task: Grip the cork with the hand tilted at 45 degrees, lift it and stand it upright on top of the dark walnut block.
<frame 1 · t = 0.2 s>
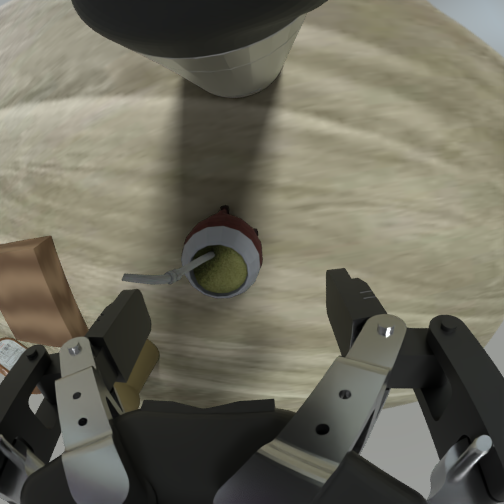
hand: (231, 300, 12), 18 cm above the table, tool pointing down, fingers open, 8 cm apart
tin: (30, 350, 41), on the table
walnut base block: (35, 288, 34), on the table
cork: (140, 349, 38), on the table
mate gourd: (223, 231, 30), on the table
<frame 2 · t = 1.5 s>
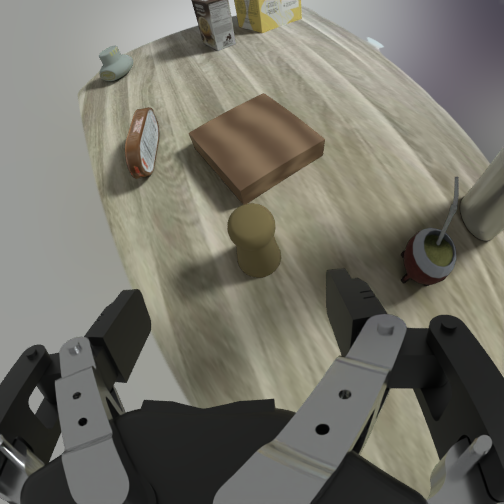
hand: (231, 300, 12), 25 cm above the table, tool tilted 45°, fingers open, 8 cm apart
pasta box: (270, 22, 68), on the table
tin: (152, 155, 50), on the table
air freshener: (120, 75, 66), on the table
brown snack box: (219, 44, 65), on the table
walnut base block: (256, 149, 47), on the table
cork: (259, 257, 40), on the table
mate gourd: (413, 266, 37), on the table
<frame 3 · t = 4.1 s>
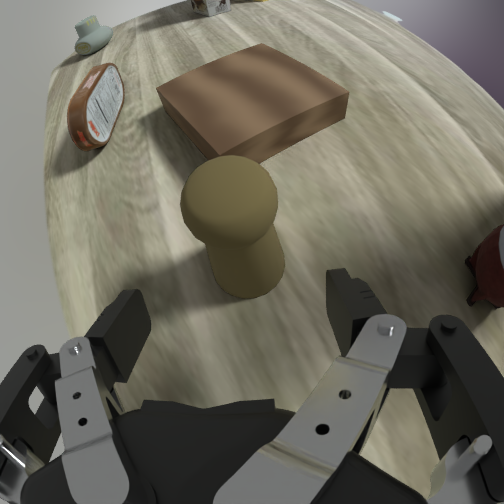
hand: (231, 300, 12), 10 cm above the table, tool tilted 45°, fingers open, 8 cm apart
tin: (112, 124, 34), on the table
air freshener: (97, 48, 51), on the table
brown snack box: (212, 11, 50), on the table
walnut base block: (249, 109, 31), on the table
cork: (248, 263, 24), on the table
mate gourd: (480, 279, 21), on the table
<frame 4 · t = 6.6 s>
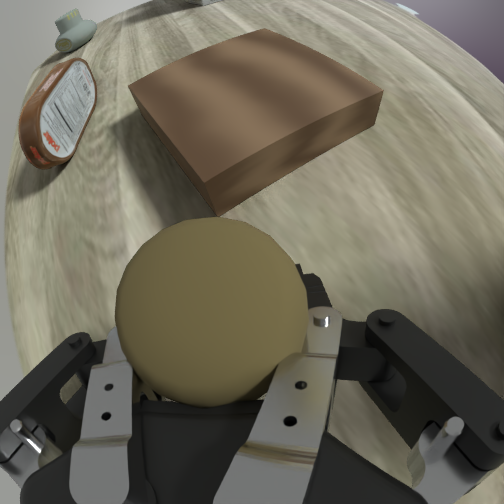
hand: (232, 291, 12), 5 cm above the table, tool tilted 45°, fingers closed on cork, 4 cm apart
tin: (80, 132, 26), on the table
air freshener: (80, 45, 43), on the table
brown snack box: (206, 1, 42), on the table
walnut base block: (248, 110, 24), on the table
cork: (248, 342, 16), on the table, touching gripper
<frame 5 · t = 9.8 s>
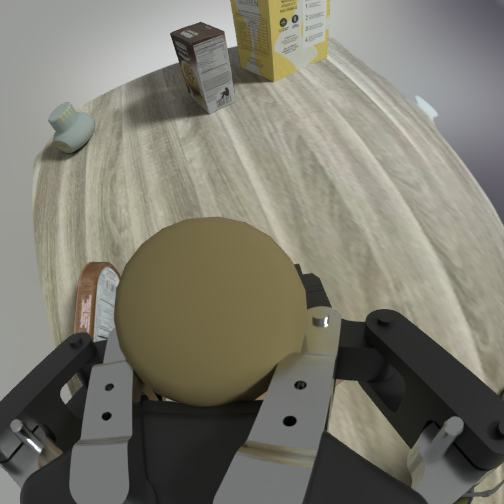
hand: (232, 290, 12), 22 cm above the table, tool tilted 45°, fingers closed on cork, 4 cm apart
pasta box: (285, 61, 55), on the table
tin: (118, 325, 35), on the table
air freshener: (80, 141, 51), on the table
brown snack box: (212, 99, 51), on the table
cork: (244, 343, 16), point 17 cm above the table, touching gripper
mate gourd: (428, 484, 22), on the table
when the fingers open (10 cm above the table, at t = 13.1 s): cork drops 1 cm, resting on walnut base block.
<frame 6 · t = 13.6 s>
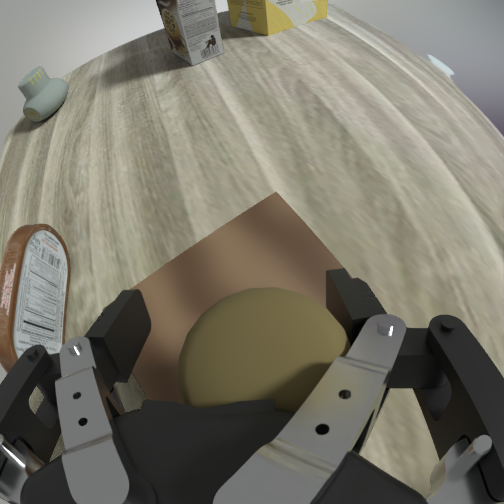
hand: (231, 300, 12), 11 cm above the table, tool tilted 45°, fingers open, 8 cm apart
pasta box: (281, 20, 44), on the table
tin: (62, 312, 24), on the table
air freshener: (52, 109, 40), on the table
brown snack box: (197, 53, 40), on the table
walnut base block: (254, 347, 21), on the table
cork: (284, 372, 16), point 4 cm above the table, touching gripper, walnut base block
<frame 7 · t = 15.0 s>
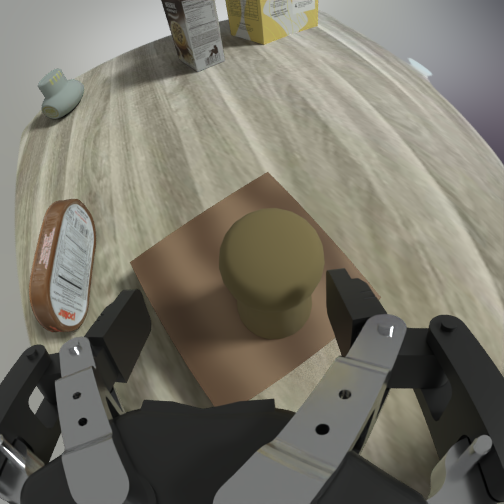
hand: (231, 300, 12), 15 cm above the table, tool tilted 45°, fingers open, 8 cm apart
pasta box: (275, 29, 50), on the table
tin: (87, 276, 30), on the table
air freshener: (68, 108, 46), on the table
brown snack box: (201, 60, 46), on the table
walnut base block: (251, 293, 27), on the table
cork: (274, 302, 23), point 4 cm above the table, touching walnut base block
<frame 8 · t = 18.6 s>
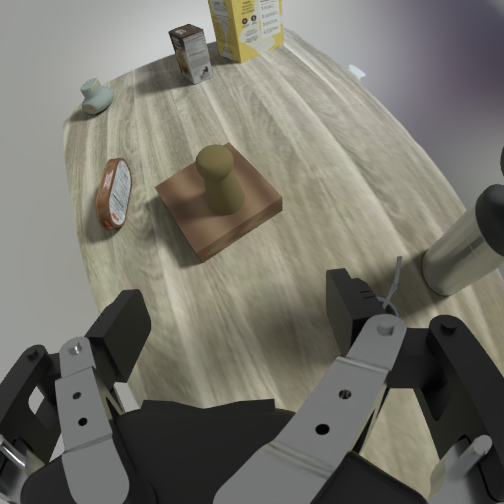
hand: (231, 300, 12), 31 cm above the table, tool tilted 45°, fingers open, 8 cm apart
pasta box: (252, 49, 73), on the table
tin: (125, 203, 53), on the table
air freshener: (102, 107, 70), on the table
brown snack box: (197, 76, 69), on the table
walnut base block: (218, 203, 50), on the table
cork: (226, 199, 46), point 4 cm above the table, touching walnut base block
mate gourd: (362, 325, 40), on the table
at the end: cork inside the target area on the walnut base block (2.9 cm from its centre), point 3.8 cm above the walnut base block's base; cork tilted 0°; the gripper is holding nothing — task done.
